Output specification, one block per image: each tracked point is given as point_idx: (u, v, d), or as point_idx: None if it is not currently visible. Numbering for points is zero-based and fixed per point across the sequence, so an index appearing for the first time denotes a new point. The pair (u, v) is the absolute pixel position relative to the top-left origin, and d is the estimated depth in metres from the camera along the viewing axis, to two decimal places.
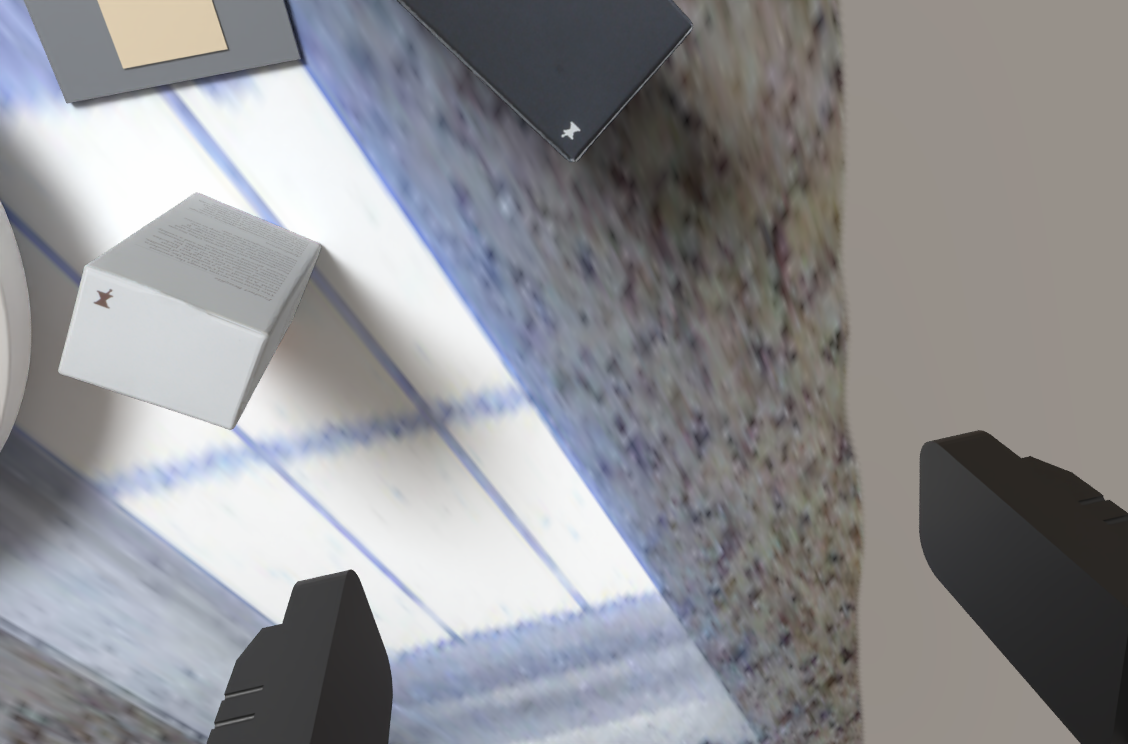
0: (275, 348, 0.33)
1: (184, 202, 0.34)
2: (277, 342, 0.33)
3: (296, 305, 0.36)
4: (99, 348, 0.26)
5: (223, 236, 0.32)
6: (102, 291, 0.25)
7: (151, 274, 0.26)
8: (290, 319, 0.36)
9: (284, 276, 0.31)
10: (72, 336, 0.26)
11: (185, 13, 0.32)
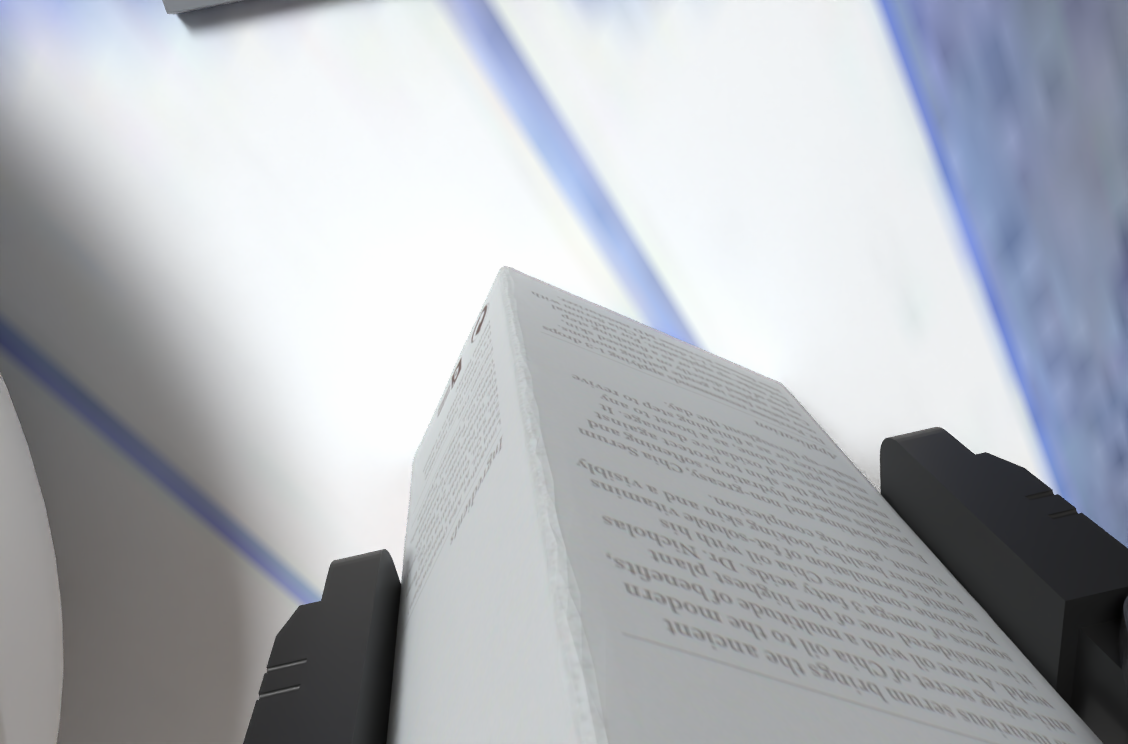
0: None
1: (518, 307, 0.11)
2: None
3: None
4: None
5: (692, 431, 0.10)
6: None
7: None
8: None
9: (943, 585, 0.09)
10: None
11: None
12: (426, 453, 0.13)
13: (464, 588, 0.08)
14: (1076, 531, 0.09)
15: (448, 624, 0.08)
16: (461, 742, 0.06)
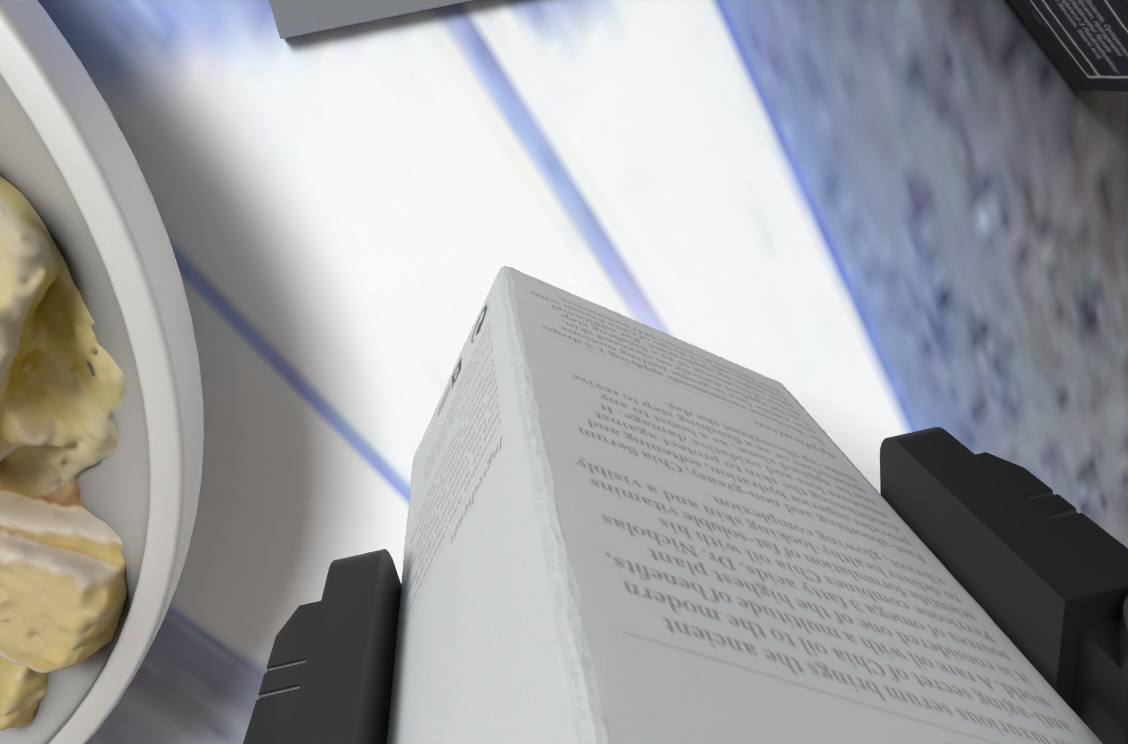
0: None
1: (518, 307, 0.11)
2: None
3: None
4: None
5: (692, 431, 0.10)
6: None
7: None
8: None
9: (941, 585, 0.09)
10: None
11: None
12: (426, 453, 0.13)
13: (464, 587, 0.08)
14: (1076, 531, 0.09)
15: (448, 623, 0.08)
16: (462, 740, 0.06)
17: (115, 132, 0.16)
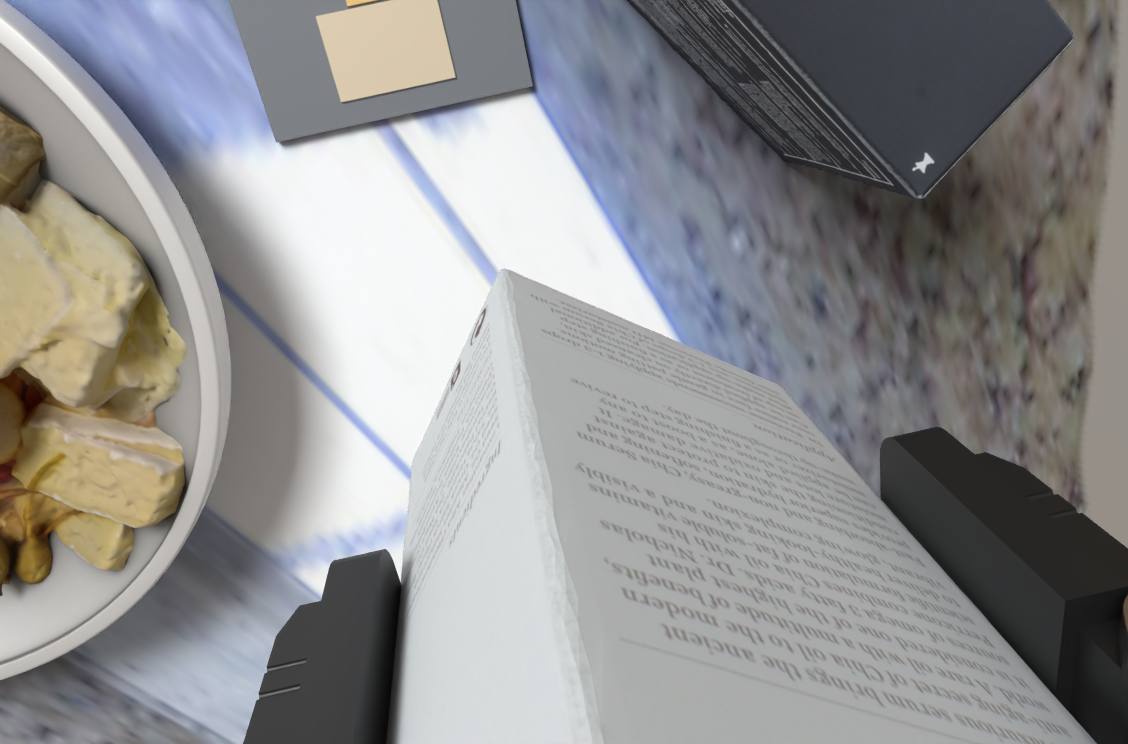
0: None
1: (517, 311, 0.11)
2: None
3: None
4: None
5: (691, 435, 0.10)
6: None
7: None
8: None
9: (940, 588, 0.09)
10: None
11: (413, 39, 0.29)
12: (425, 456, 0.13)
13: (462, 592, 0.08)
14: (1076, 531, 0.09)
15: (447, 628, 0.08)
16: None
17: (181, 204, 0.28)
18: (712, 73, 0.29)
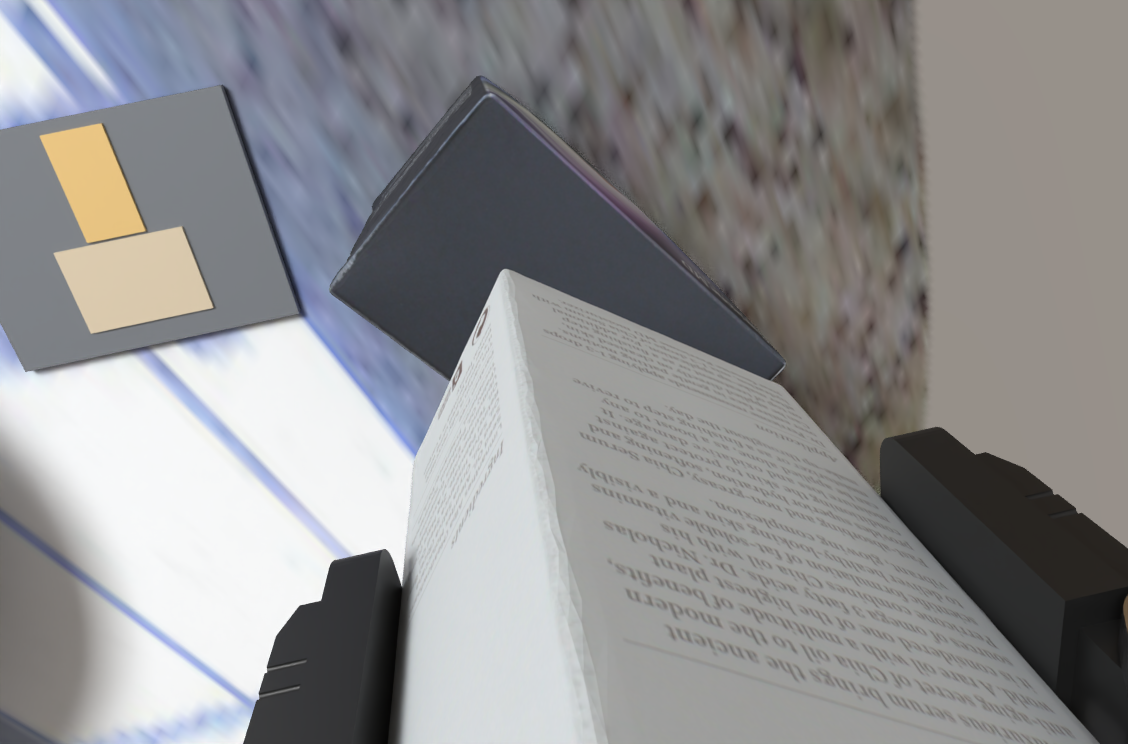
0: None
1: (519, 311, 0.11)
2: None
3: None
4: None
5: (692, 435, 0.10)
6: None
7: None
8: None
9: (943, 589, 0.09)
10: None
11: (163, 272, 0.27)
12: (427, 456, 0.13)
13: (465, 592, 0.08)
14: (1076, 531, 0.09)
15: (449, 628, 0.08)
16: None
17: None
18: None
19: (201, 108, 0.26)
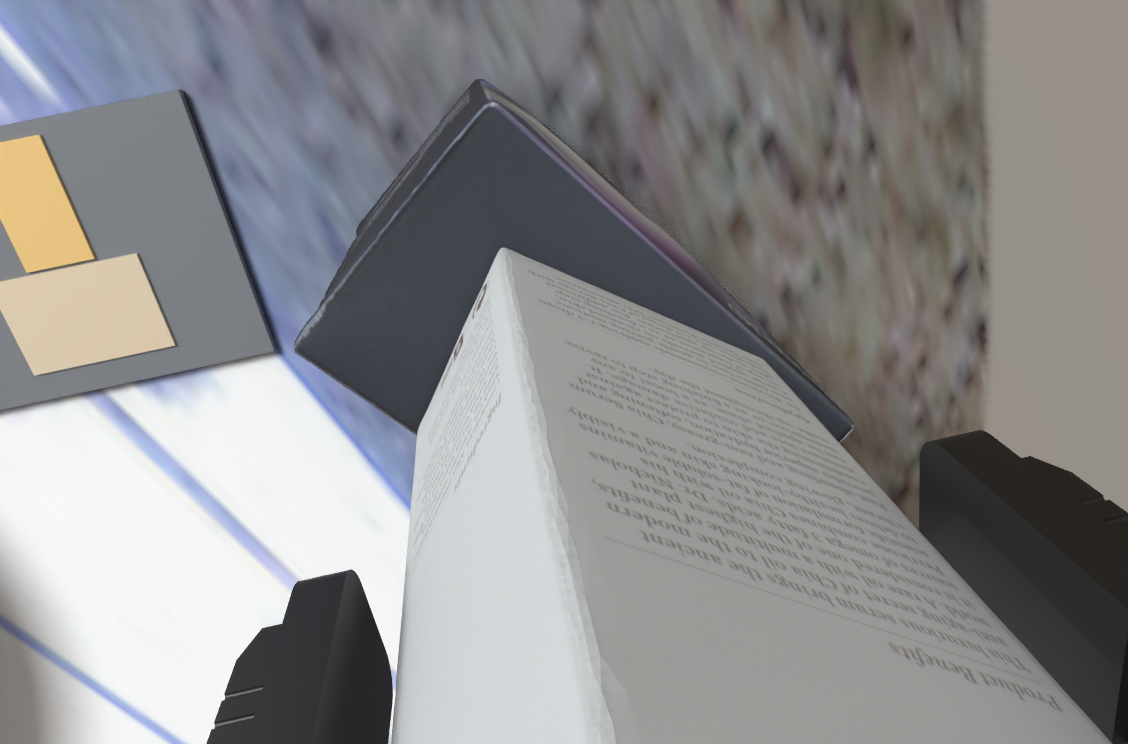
0: None
1: (516, 283, 0.12)
2: None
3: None
4: None
5: (674, 393, 0.11)
6: None
7: None
8: None
9: (899, 528, 0.10)
10: None
11: (115, 306, 0.24)
12: (430, 422, 0.14)
13: (467, 523, 0.09)
14: None
15: (453, 556, 0.09)
16: (466, 644, 0.07)
17: None
18: None
19: (156, 117, 0.22)
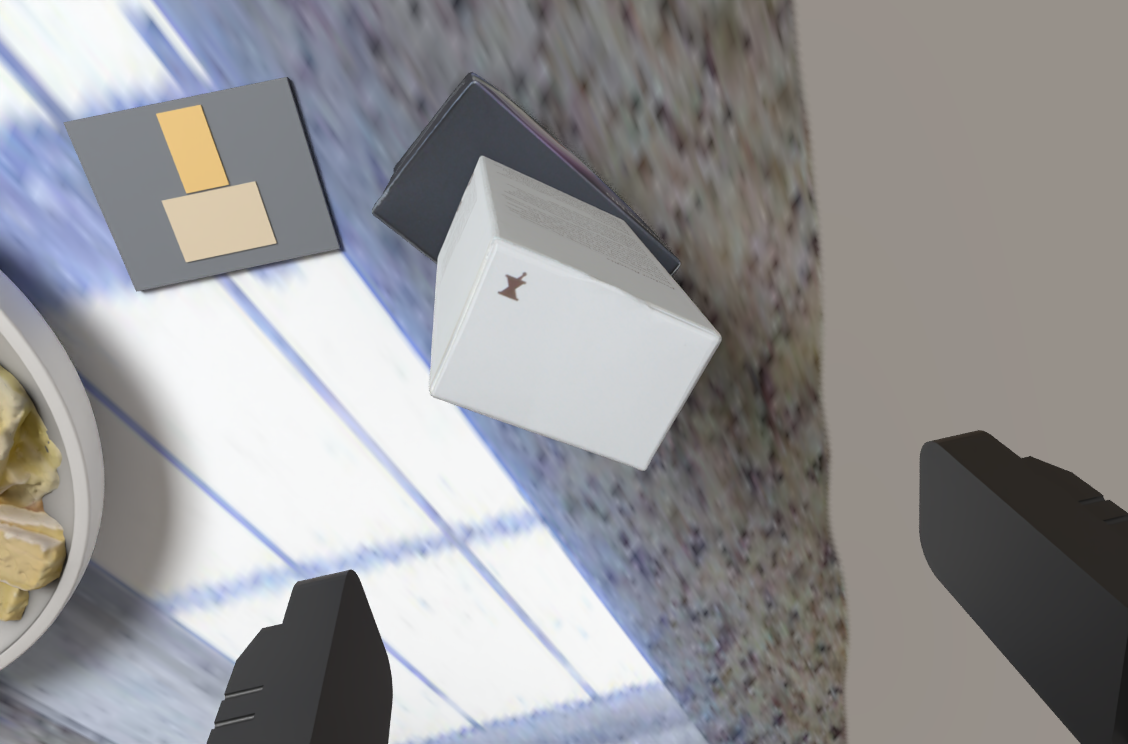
0: None
1: (486, 165, 0.26)
2: None
3: None
4: (493, 359, 0.18)
5: (555, 207, 0.24)
6: (513, 275, 0.17)
7: (558, 251, 0.18)
8: None
9: (648, 258, 0.23)
10: (460, 342, 0.18)
11: (240, 216, 0.37)
12: (445, 244, 0.27)
13: (462, 242, 0.22)
14: None
15: (457, 255, 0.22)
16: (462, 263, 0.21)
17: (55, 348, 0.36)
18: None
19: (272, 94, 0.35)
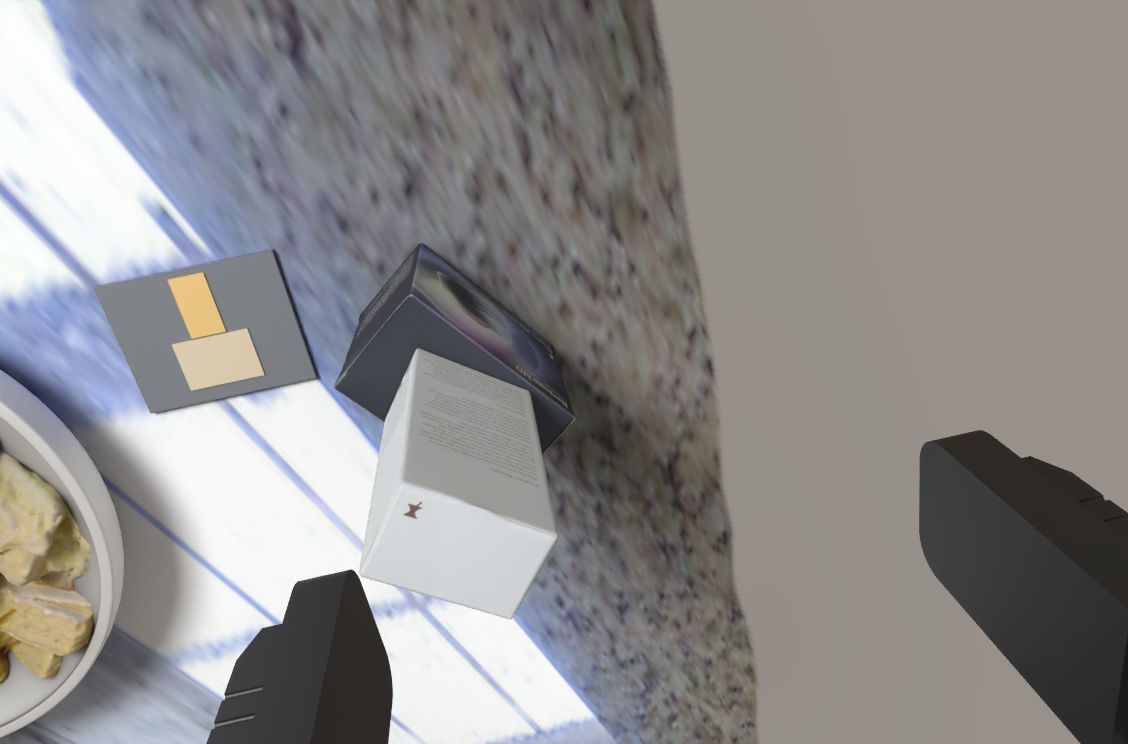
0: None
1: (417, 366, 0.34)
2: None
3: None
4: (402, 554, 0.27)
5: (465, 405, 0.33)
6: (413, 503, 0.26)
7: (447, 478, 0.27)
8: None
9: (529, 448, 0.32)
10: (378, 544, 0.27)
11: (235, 355, 0.46)
12: (389, 415, 0.36)
13: (392, 443, 0.31)
14: None
15: (388, 452, 0.31)
16: (388, 468, 0.30)
17: (86, 465, 0.45)
18: None
19: (260, 263, 0.44)
